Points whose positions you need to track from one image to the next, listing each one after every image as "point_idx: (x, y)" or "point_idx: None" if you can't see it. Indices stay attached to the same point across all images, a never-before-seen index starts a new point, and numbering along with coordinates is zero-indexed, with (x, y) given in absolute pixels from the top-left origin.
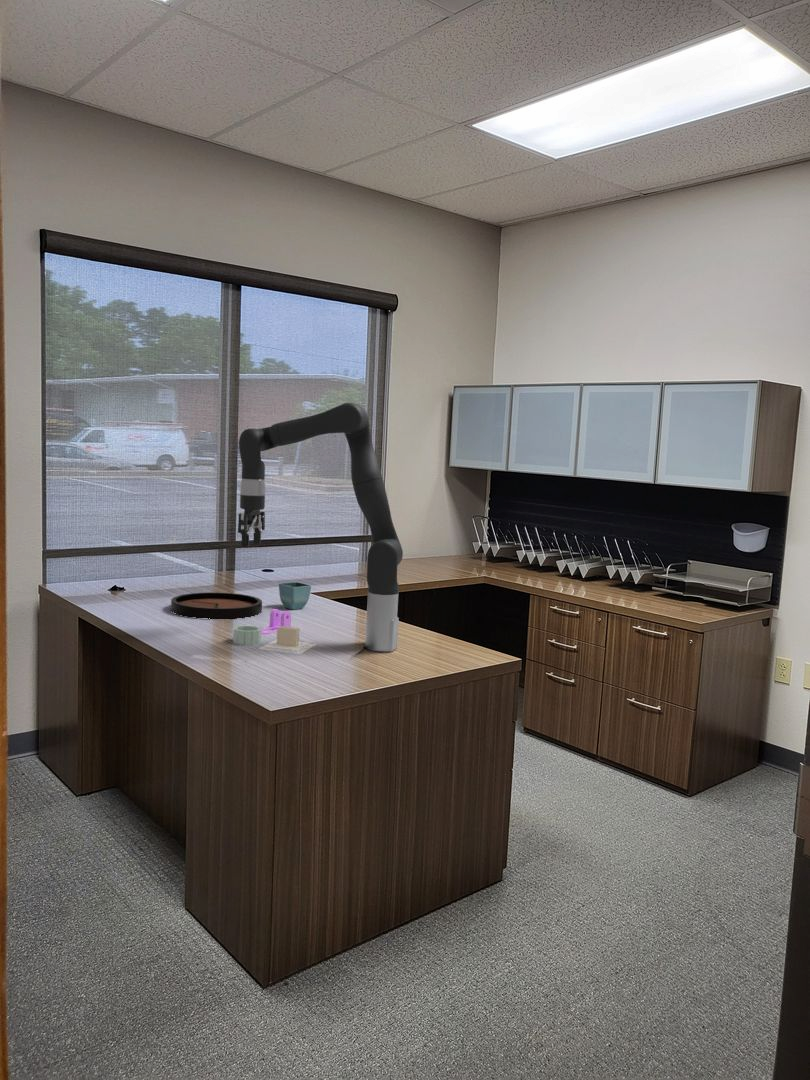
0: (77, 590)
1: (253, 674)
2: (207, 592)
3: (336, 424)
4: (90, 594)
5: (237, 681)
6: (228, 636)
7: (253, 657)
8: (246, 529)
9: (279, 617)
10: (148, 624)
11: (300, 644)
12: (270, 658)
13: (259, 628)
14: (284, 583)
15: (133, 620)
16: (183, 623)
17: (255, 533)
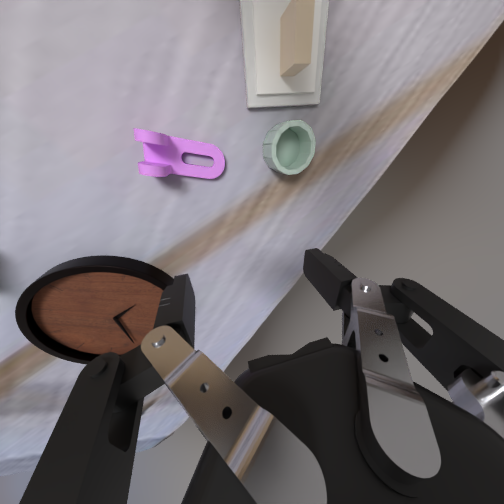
0: (168, 417)
1: (433, 36)
2: (78, 362)
3: None
4: (173, 405)
5: (463, 43)
6: (249, 203)
7: (346, 93)
8: (417, 296)
9: (143, 162)
10: (247, 303)
11: (275, 15)
12: (345, 58)
13: (284, 127)
14: None
15: (240, 321)
16: (220, 286)
17: (191, 337)
